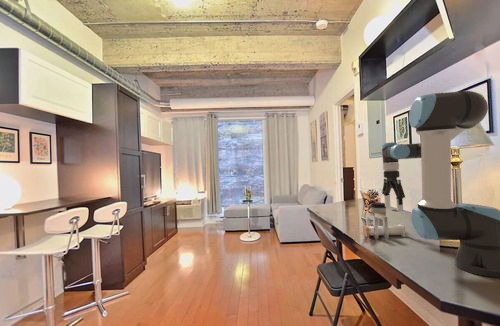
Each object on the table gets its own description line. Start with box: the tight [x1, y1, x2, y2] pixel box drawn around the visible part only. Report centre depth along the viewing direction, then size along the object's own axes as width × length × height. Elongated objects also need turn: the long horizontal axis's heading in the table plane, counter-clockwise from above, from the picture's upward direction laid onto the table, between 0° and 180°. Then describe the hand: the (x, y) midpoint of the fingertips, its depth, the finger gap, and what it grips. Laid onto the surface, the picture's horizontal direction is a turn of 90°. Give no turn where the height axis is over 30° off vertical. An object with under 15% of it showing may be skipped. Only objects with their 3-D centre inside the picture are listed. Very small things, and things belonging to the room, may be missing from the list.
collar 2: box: [375, 213, 390, 240], centre depth 132 cm, size 12×2×12 cm, turn 174°
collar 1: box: [365, 212, 379, 240], centre depth 133 cm, size 12×2×12 cm, turn 174°
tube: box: [362, 223, 406, 238], centre depth 132 cm, size 20×5×5 cm, turn 84°
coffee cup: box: [369, 202, 387, 226], centre depth 148 cm, size 9×9×15 cm
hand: (393, 208), depth 132 cm, fingers open, 13 cm apart
